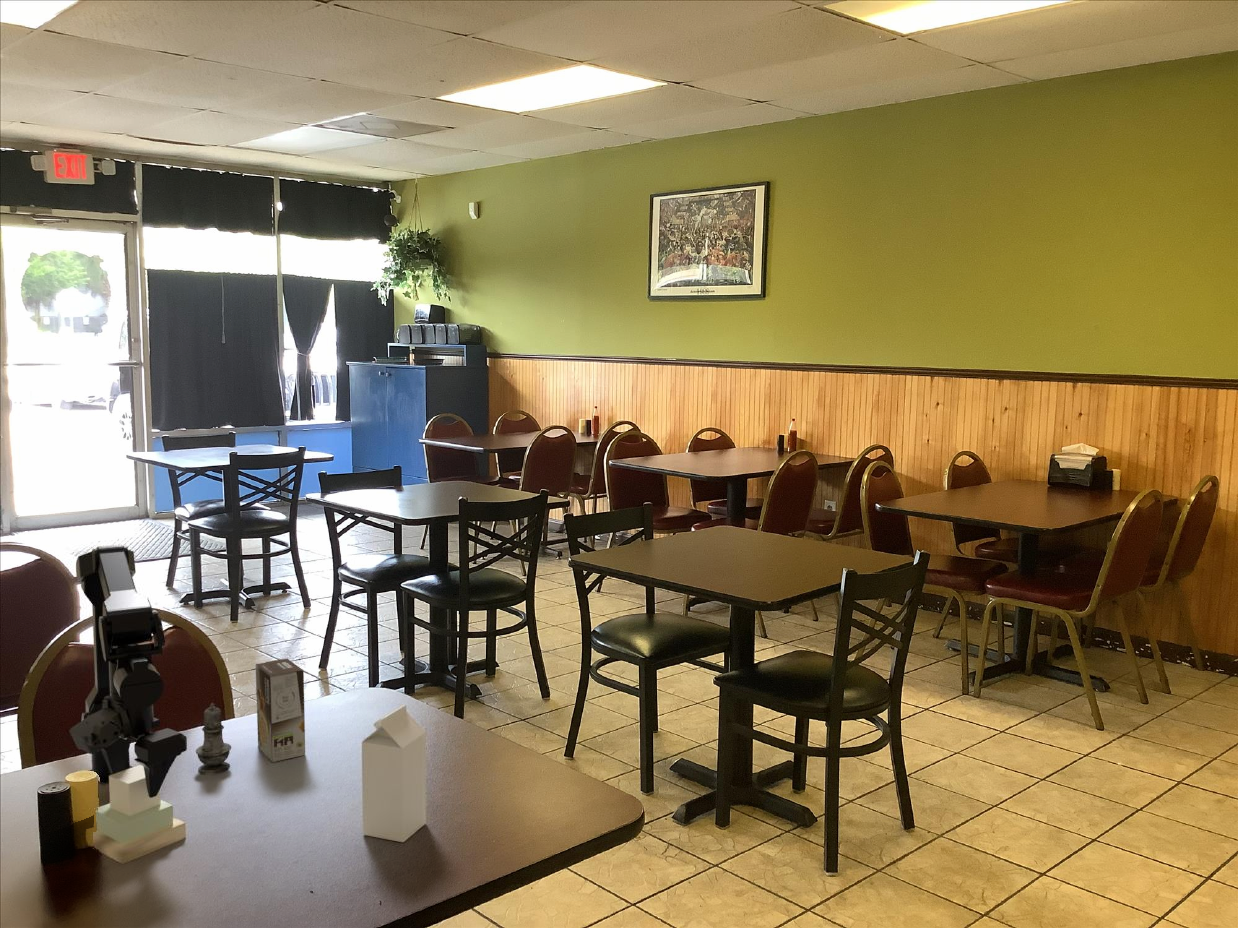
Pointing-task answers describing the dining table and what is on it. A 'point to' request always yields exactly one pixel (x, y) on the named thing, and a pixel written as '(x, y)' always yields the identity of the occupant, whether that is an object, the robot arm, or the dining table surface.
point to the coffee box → (280, 709)
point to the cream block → (131, 792)
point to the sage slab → (133, 822)
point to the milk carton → (394, 777)
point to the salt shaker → (213, 744)
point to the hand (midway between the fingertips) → (135, 788)
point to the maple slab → (139, 842)
